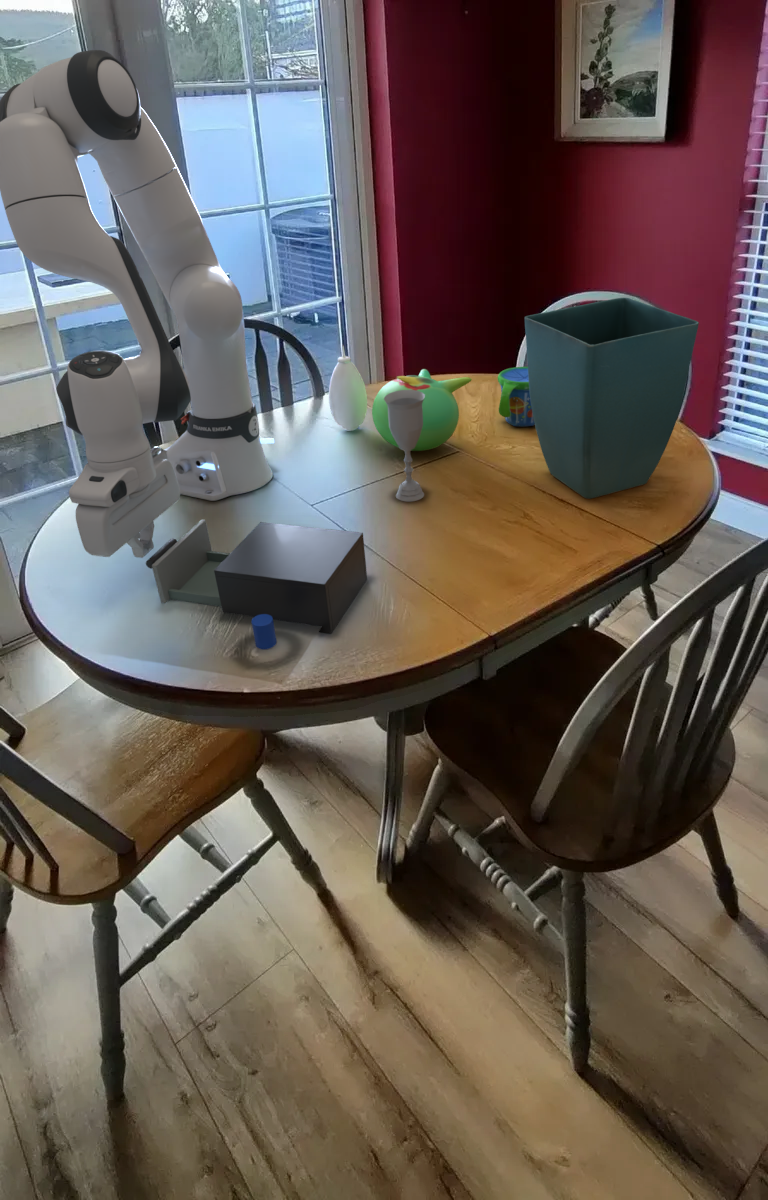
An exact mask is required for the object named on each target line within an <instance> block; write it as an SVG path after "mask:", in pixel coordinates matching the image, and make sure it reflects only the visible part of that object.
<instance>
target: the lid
mask: <svg viewBox="0 0 768 1200" xmlns="http://www.w3.org/2000/svg"><path fill="white" fill-rule="evenodd" d="M251 627H252V632H253V636H254V637H253V638H254V643H255V647H256V648H257V649H260V650H269V649H272V648H274V647H275V646H276V645H277V642H278V641H277V636H276V630H275V623H274V620H273V618H272V616H270V615H268V614H260V615H257V616H255V617H252V619H251Z"/></svg>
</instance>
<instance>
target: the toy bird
mask: <svg viewBox="0 0 768 1200" xmlns="http://www.w3.org/2000/svg"><path fill="white" fill-rule="evenodd" d="M472 381H473V380H472V378H471V377H468V376H463V377H456V378H449V379H443V380H437V379H434V378H432V377H431V373H430V371H429V370H428V369H426V368H422V369H421V370H420V372H419V374H418V375H416V374H409V375H406V376H405V375H398V376H396V378H395V379H392V380H391V381H389V382H387V383H386V384H385V385H383V386H382V387H381V388H380V389H379V391H378V392H377V394H376V395H375V398H374V400H373V403H372V409H371V412H372V413H371V416H372V421H373V424H374V427H375V429H376V431H377V433H378V434H379V435H380V436H381V437H382V439H384V441H386V442H387V443H389V444H390V445H392V446H394V447H397V448H399V446H398V445H397V443H396V441H395V439H394V438H393V435H392V433H391V431H390V428H389V420H388V405H387V404H386V402H385V400H384V397H385V396H386V395H388V394H390V393H392V392H395V391H400V390H416V391H420V392H422V393H423V394H424V395H425V398H424V400H423V402H422V410H423V427H422V430H421V434H420V437H419V439H418V442H417V444H416V446H415V448H414V449H412V450H411V451H413V452H425V451H430V450H433V449H435V448H437V447H440V446H441V445H443V444H445V443H446V442H447V441H448V440H449V439H450V438H451V437H452V435H453V434H454V433H455V432H456V429H457V427H458V424H459V419H460V410H459V405H458V402H457V399H456V397H455V396H454V394H453V393H454V392H456V391H457V390H459V389H460V388H462V387H464V386H466V385H468V384H469V383H471V382H472ZM399 449H400V448H399ZM411 451H410V452H411Z"/></svg>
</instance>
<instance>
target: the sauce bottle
mask: <svg viewBox="0 0 768 1200" xmlns="http://www.w3.org/2000/svg"><path fill="white" fill-rule="evenodd" d="M341 346H342V347H341V349H342V350H341V351H342V352H341V353H342V356H339V357H338V358H337V363H336V365H335V367H334V369H333V371H332V374H331V377H330V381H329V386H328V387H329V388H328V406H329V410H330V413H331V416H332V419H333V420H334V422H335V423H336V424H337V426H339V427H340V428H342V429H343V430H344V431H348V432H354V431H355V430H357V429H358V428H359V427H360V426H361V425H362V424H363V423H364V421H365V419H366V416H367V413H368V393H367V388H366V385H365V382H364V379H363V377H362V375H361V373H360V371H359V369H358V367H357V366H356V365H355V364H354V363H353V362H352V357H350V356H348V355H346V352H345V351H346V350H345V346H344V344H342V345H341Z"/></svg>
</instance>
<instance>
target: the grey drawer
mask: <svg viewBox="0 0 768 1200" xmlns="http://www.w3.org/2000/svg"><path fill="white" fill-rule="evenodd" d="M230 553H231V552H223V551H216V550H213V549H212V544H211V540H210V535H209V531H208V526H207V520H205V519H200V520H199V521H198V522H197V523H196V524H195V525H194V526H193V527H191V529H189V530H188V531H187V532H186V533H185V534H184V535H183V536H182V537H180V539H179V540H177V539H176V538H174V537H172V538H170V539H169V540H168V541H167V542H166V543H165V544H164V545H162V546H161V547H160V548H159V549H158V550H157V551H156V552H155V553H154V554H152V555H151V556H150V557H149V558H148V559H147V560H146V562H145V565H146V567H147V568H148V569H152V572H153V575H154V580H155V584H156V587H157V591H158V596H159V599H160V603H161V604H166V603H168V602H169V601H170V600H171V601H172V600H173V601H177V602H178V601H180V602H186V603H192V604H193V603H194V604H200V605H208V606H214V607H215V606H216V607H221V602H220V597H219V592H218V588H217V583H216V578H215V573H214V570H215V569H216V568H217V567H218V566H219V565H220V564H221V563H222V562H223V561H224V559H225V558H226V557H227V556H228V555H229V554H230Z"/></svg>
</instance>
